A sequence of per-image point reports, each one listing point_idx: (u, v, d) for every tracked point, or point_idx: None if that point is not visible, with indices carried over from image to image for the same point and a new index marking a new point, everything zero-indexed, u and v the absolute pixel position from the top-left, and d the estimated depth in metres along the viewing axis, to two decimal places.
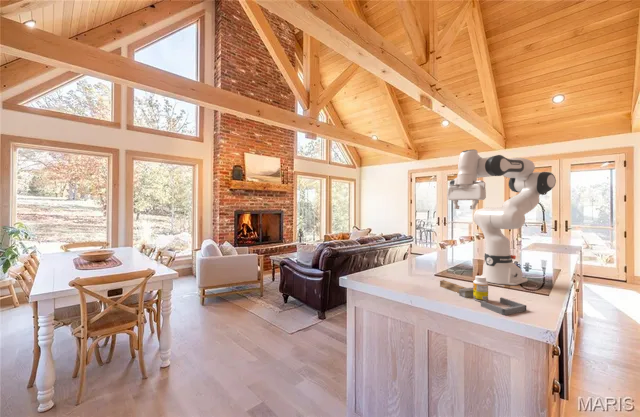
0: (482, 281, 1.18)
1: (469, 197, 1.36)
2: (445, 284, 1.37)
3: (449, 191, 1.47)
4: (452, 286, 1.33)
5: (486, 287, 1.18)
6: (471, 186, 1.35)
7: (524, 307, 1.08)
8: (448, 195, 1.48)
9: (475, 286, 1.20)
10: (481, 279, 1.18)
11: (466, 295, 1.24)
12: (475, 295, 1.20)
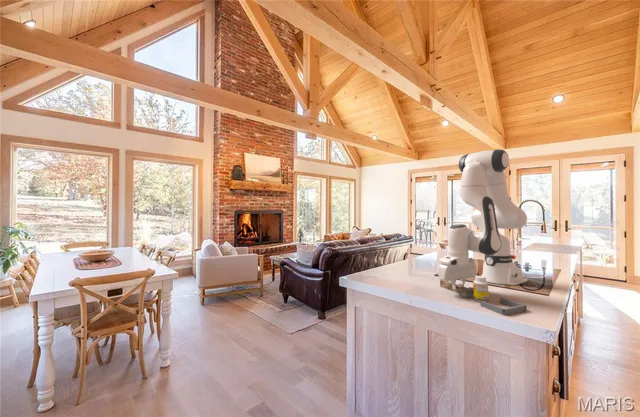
0: (482, 281, 1.18)
1: (467, 276, 1.31)
2: (445, 284, 1.37)
3: (447, 272, 1.26)
4: None
5: (486, 287, 1.18)
6: (468, 265, 1.31)
7: (524, 307, 1.08)
8: (446, 276, 1.26)
9: (475, 286, 1.20)
10: (481, 279, 1.18)
11: (466, 295, 1.24)
12: (475, 295, 1.20)
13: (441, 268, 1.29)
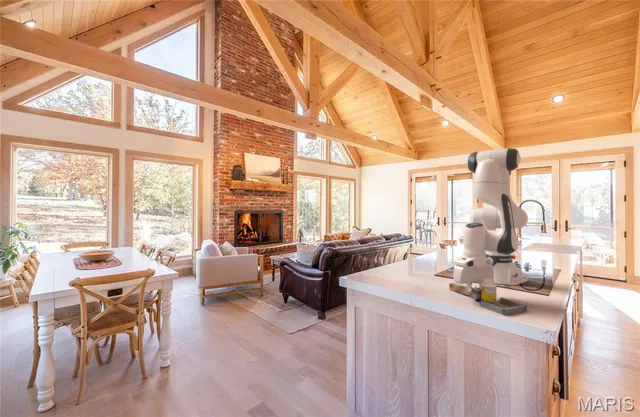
0: (490, 283, 1.15)
1: None
2: (454, 286, 1.32)
3: (463, 273, 1.18)
4: (462, 288, 1.28)
5: (494, 289, 1.14)
6: (485, 266, 1.23)
7: (524, 307, 1.08)
8: (462, 278, 1.18)
9: (483, 288, 1.16)
10: (489, 281, 1.15)
11: (477, 296, 1.19)
12: (483, 298, 1.16)
13: (456, 270, 1.20)
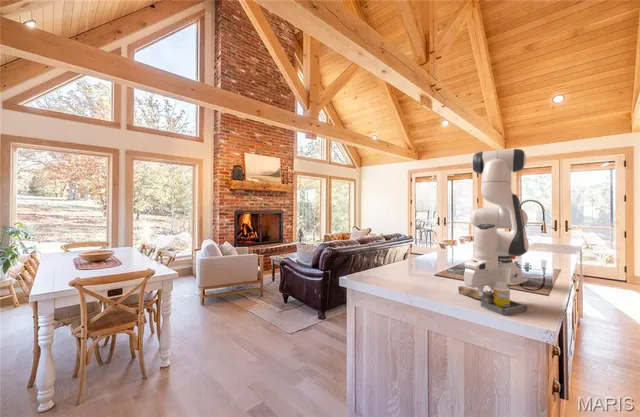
0: (503, 287, 1.10)
1: None
2: (464, 290, 1.27)
3: (475, 277, 1.13)
4: (472, 292, 1.23)
5: (508, 294, 1.09)
6: (497, 269, 1.18)
7: (524, 307, 1.08)
8: (473, 282, 1.13)
9: (495, 292, 1.11)
10: (502, 285, 1.10)
11: (489, 300, 1.13)
12: (495, 302, 1.11)
13: (467, 273, 1.15)
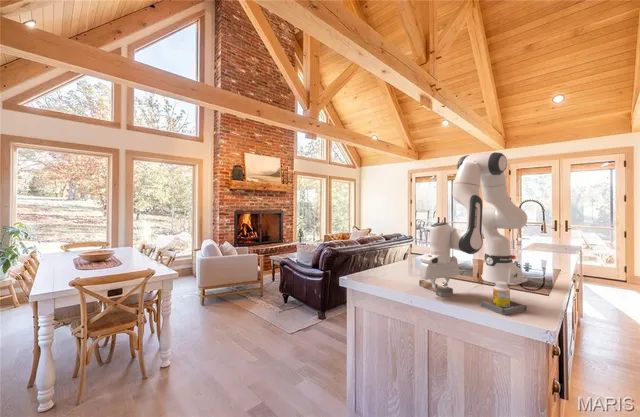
0: (503, 287, 1.10)
1: (449, 275, 1.30)
2: (423, 283, 1.39)
3: (428, 270, 1.25)
4: (430, 285, 1.35)
5: (508, 294, 1.09)
6: (450, 263, 1.30)
7: (524, 307, 1.08)
8: (427, 275, 1.25)
9: (496, 292, 1.11)
10: (502, 285, 1.10)
11: (442, 294, 1.26)
12: (495, 302, 1.11)
13: (422, 267, 1.27)
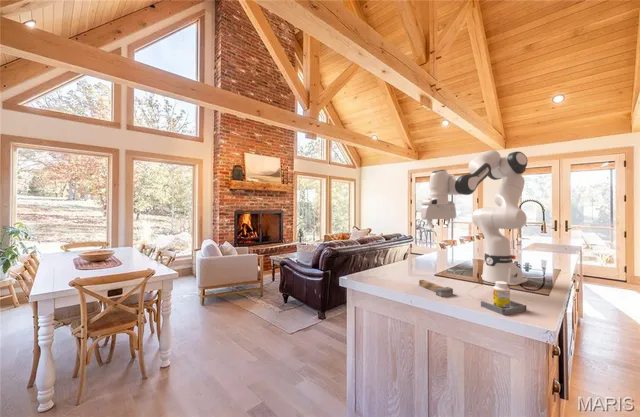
0: (503, 287, 1.10)
1: (447, 216, 1.44)
2: (423, 283, 1.39)
3: (428, 210, 1.40)
4: (430, 285, 1.35)
5: (508, 294, 1.09)
6: (448, 206, 1.45)
7: (524, 307, 1.08)
8: (427, 215, 1.40)
9: (496, 292, 1.11)
10: (502, 285, 1.10)
11: (442, 294, 1.26)
12: (495, 302, 1.11)
13: (423, 208, 1.42)
